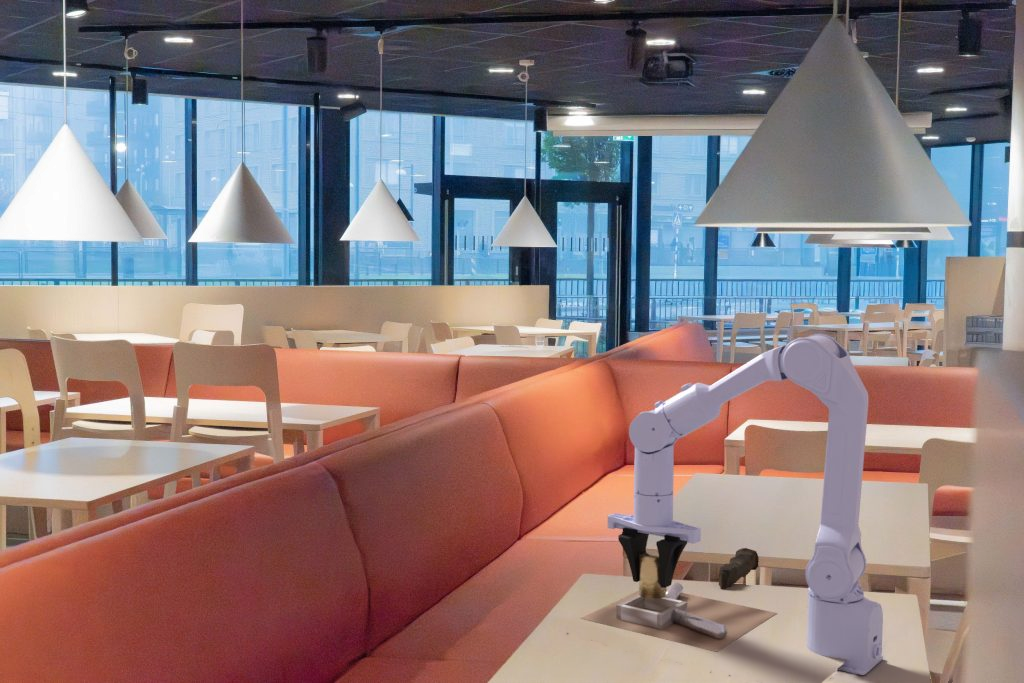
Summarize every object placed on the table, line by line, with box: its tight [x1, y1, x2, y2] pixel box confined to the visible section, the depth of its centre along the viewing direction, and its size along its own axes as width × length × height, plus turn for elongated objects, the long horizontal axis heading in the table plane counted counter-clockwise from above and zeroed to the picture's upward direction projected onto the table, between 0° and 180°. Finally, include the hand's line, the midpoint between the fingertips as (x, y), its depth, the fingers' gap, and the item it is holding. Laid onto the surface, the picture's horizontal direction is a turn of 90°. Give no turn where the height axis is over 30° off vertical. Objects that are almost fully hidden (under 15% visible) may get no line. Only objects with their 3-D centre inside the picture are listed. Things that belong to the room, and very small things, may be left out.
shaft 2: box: [671, 609, 727, 640], centre depth 152 cm, size 9×2×2 cm, turn 38°
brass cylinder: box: [638, 550, 667, 599], centre depth 158 cm, size 4×4×6 cm
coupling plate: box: [580, 589, 778, 653], centre depth 158 cm, size 22×20×4 cm
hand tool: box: [718, 547, 760, 590], centre depth 180 cm, size 19×4×5 cm, turn 153°
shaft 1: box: [665, 582, 684, 600], centre depth 164 cm, size 8×2×2 cm, turn 158°
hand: (652, 583), depth 157 cm, fingers closed on brass cylinder, 4 cm apart
